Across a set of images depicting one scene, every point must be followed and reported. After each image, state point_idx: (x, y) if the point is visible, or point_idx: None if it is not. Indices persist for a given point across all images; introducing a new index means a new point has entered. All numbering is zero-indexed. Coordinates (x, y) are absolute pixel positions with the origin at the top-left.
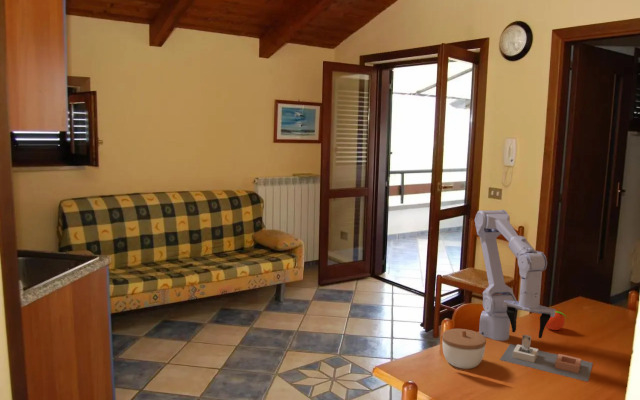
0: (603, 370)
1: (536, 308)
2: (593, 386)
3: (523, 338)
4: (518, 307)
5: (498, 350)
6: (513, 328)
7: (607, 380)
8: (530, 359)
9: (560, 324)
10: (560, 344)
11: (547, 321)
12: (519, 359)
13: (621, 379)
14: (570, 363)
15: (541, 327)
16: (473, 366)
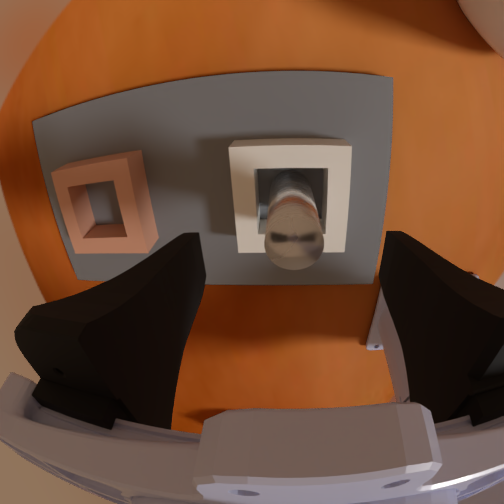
0: (55, 259)
1: (132, 495)
2: (30, 124)
3: (312, 218)
4: (483, 441)
5: (411, 214)
6: (407, 240)
7: (25, 198)
8: (251, 141)
9: None
10: (212, 367)
11: (37, 305)
12: (307, 134)
13: (15, 229)
14: (78, 181)
15: (141, 273)
16: None
